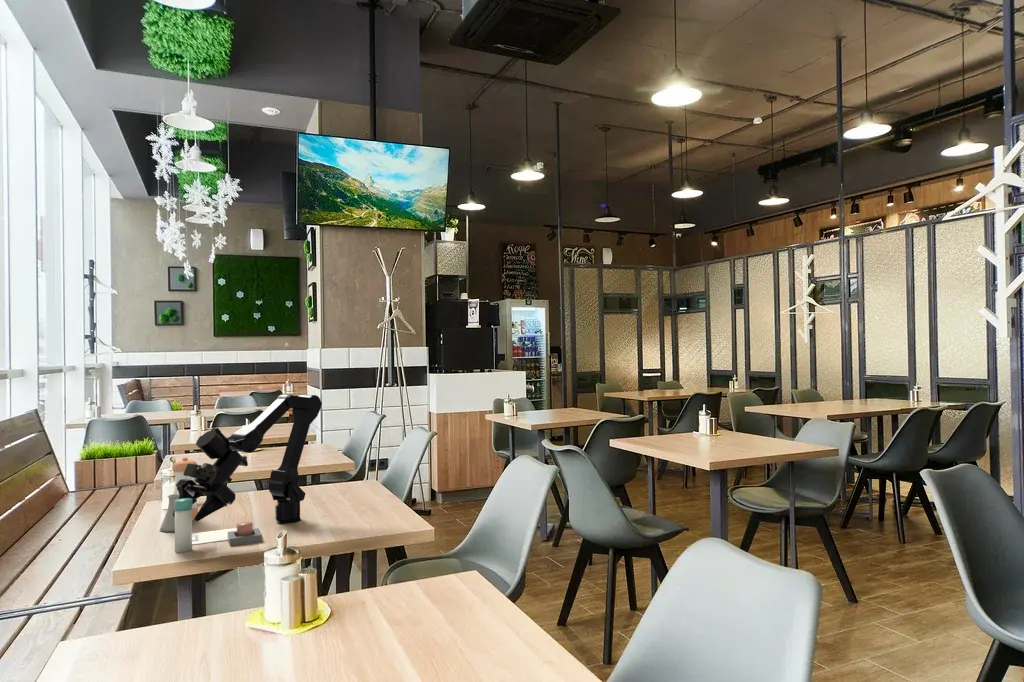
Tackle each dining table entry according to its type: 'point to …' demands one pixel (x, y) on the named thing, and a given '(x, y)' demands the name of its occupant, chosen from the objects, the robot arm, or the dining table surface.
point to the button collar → (244, 537)
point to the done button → (244, 529)
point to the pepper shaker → (179, 471)
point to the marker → (183, 524)
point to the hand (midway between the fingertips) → (184, 518)
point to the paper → (211, 536)
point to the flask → (169, 515)
